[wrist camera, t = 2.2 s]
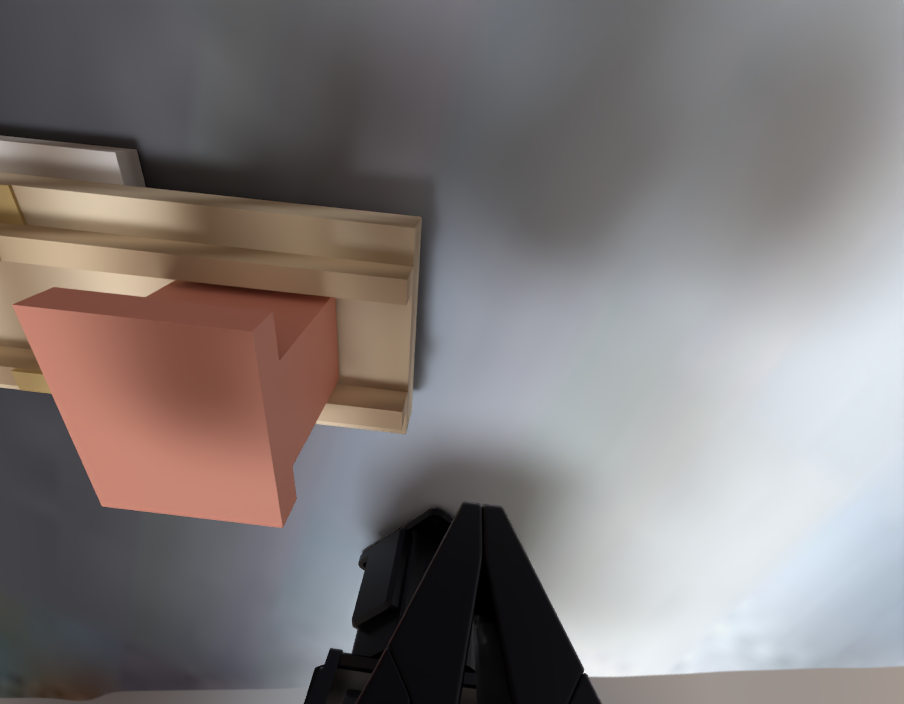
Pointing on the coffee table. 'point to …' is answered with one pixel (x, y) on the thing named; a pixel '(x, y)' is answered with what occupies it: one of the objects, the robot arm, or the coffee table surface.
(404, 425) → the beam
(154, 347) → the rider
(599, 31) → the coffee table surface
